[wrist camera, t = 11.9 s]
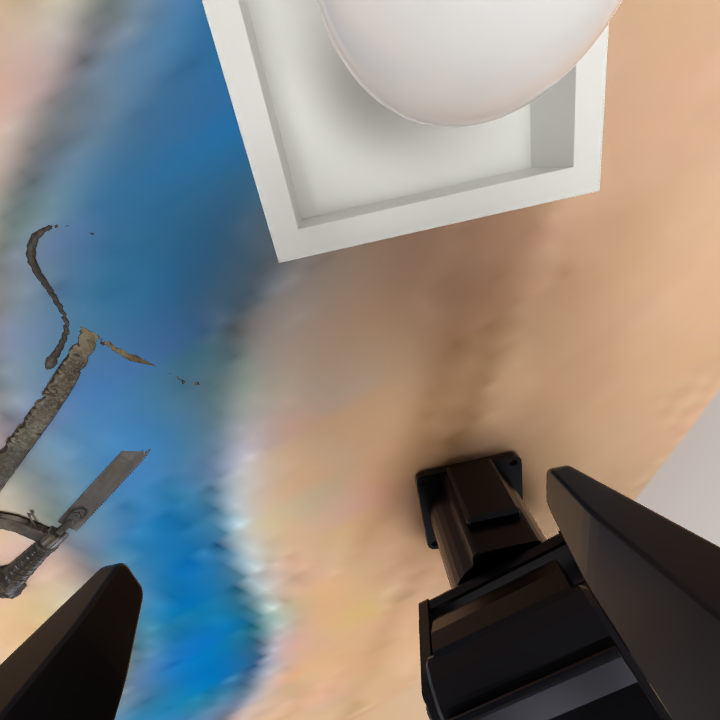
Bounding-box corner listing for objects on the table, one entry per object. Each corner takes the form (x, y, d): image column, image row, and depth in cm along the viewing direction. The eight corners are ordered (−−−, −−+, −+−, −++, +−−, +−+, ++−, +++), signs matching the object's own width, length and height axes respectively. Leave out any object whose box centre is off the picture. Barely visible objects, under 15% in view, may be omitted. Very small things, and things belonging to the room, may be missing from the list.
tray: (544, 186, 18) (599, 190, 15) (287, 244, 18) (278, 263, 15) (544, -209, 13) (630, -352, 9) (185, -123, 13) (134, -233, 10)
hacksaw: (21, 589, 27) (5, 612, 26) (-159, 516, 23) (-188, 537, 22) (252, 348, 21) (247, 360, 20) (61, 198, 17) (39, 200, 16)
